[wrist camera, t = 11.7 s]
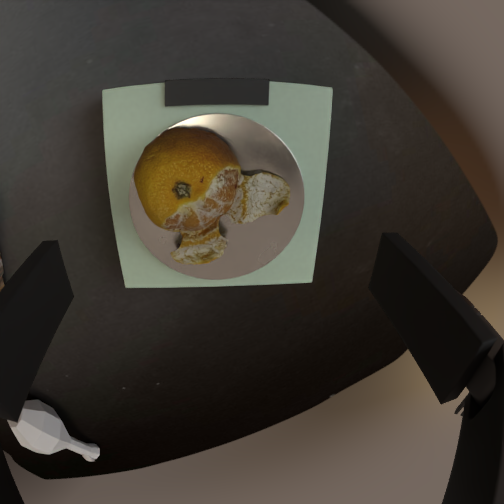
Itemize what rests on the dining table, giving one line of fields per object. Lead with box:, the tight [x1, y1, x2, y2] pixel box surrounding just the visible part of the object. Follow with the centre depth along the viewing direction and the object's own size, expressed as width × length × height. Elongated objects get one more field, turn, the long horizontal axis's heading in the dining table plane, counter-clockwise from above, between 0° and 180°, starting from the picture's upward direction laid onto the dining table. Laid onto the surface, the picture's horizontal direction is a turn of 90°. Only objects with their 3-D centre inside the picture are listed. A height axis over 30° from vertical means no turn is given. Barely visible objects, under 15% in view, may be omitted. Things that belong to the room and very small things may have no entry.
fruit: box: [134, 127, 290, 265], centre depth 16 cm, size 8×8×4 cm
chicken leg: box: [7, 399, 100, 461], centre depth 32 cm, size 8×18×8 cm, turn 19°
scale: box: [102, 78, 333, 288], centre depth 20 cm, size 14×14×3 cm
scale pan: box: [129, 113, 305, 280], centre depth 19 cm, size 11×11×1 cm
